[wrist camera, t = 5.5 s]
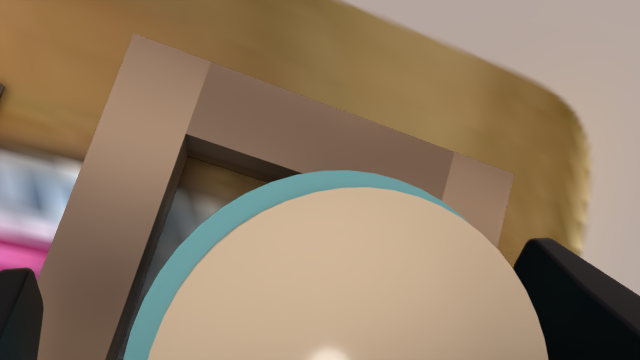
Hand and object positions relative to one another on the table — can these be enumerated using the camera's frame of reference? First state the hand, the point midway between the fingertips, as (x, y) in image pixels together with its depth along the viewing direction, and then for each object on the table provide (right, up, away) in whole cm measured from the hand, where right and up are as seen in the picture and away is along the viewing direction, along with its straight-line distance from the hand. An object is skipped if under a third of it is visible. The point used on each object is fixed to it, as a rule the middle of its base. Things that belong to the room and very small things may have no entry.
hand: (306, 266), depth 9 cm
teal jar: (-2, -2, +6) cm, 7 cm away
